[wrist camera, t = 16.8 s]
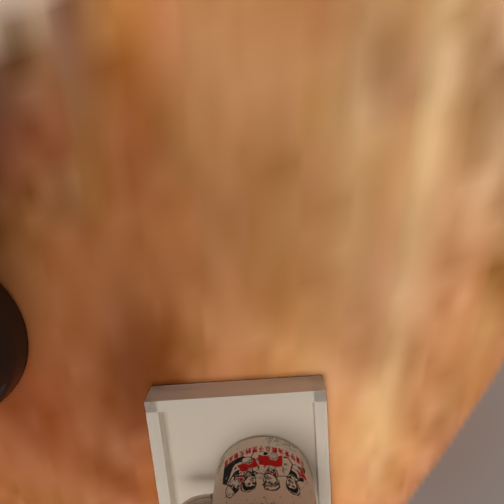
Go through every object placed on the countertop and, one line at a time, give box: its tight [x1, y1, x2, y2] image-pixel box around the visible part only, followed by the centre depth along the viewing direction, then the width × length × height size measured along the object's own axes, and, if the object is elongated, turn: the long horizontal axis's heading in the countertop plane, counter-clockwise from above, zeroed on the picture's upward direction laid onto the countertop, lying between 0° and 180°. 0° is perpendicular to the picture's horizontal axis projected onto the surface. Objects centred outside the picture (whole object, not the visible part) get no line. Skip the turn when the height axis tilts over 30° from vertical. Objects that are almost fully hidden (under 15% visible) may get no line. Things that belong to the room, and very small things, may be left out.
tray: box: [144, 375, 331, 504], centre depth 40 cm, size 15×18×2 cm
